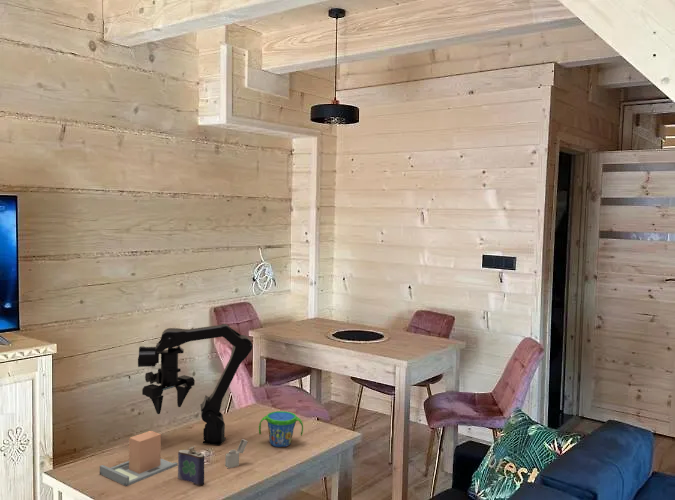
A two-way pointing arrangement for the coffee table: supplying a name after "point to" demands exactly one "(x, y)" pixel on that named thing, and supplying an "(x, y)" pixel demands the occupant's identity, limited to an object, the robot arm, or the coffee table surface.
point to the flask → (191, 466)
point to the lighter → (235, 455)
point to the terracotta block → (144, 451)
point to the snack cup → (281, 427)
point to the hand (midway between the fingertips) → (168, 410)
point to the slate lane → (132, 472)
